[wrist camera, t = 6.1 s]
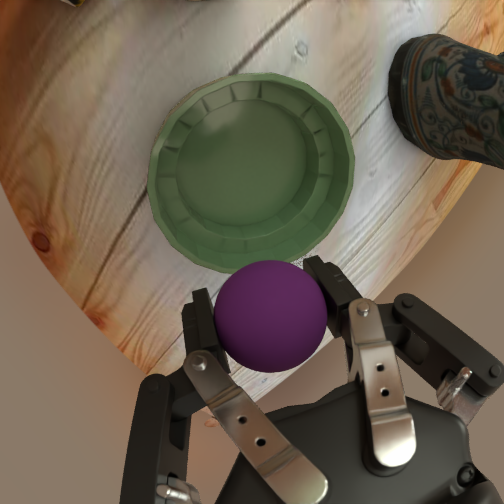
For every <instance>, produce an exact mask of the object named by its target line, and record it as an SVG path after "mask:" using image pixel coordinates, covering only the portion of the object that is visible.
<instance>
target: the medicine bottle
mask: <svg viewBox="0 0 504 504" xmlns="http://www.w3.org/2000/svg"><path fill="white" fill-rule="evenodd" d="M61 1H63V2H65V3H68V4H70V5H72V6H74V7H80V6H81V5H82V4H83V2H84V1H85V0H61Z"/></svg>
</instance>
